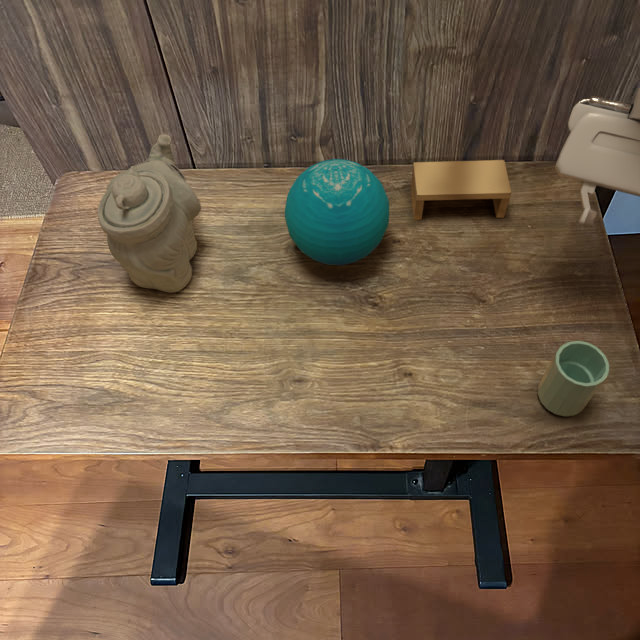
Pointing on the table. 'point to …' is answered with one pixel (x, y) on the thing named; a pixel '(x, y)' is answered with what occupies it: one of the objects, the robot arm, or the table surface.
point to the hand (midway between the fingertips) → (626, 236)
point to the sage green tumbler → (573, 378)
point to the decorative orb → (337, 212)
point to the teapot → (152, 221)
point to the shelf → (460, 183)
